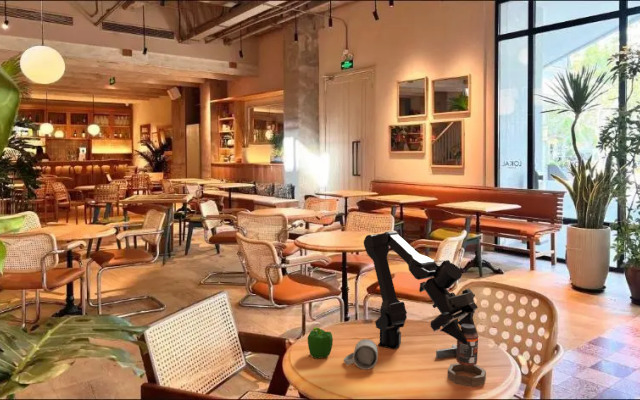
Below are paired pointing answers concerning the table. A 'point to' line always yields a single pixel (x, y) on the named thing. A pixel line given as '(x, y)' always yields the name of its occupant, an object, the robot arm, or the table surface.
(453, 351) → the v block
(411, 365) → the table surface
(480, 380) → the walnut collar
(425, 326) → the table surface
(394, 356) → the table surface
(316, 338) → the bell pepper
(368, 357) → the ceramic mug
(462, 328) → the supplement bottle
